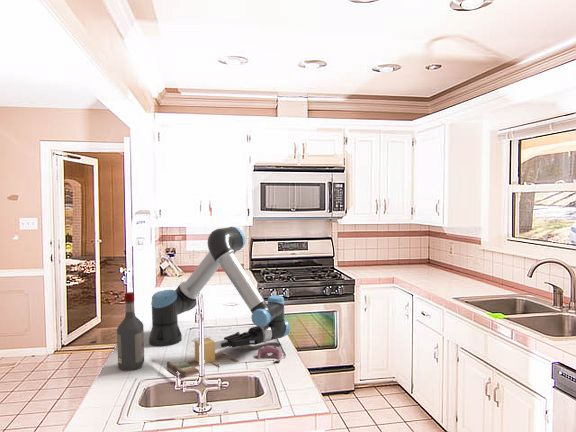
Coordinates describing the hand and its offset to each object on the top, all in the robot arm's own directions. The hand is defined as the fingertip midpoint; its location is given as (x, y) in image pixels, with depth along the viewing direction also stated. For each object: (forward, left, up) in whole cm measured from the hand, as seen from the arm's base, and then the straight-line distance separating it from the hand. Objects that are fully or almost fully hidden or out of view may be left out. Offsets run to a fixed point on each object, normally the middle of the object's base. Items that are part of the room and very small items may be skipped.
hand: (213, 346), depth 182 cm
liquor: (-19, -27, -7) cm, 34 cm away
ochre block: (-1, -3, -5) cm, 6 cm away
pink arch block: (+13, +19, -7) cm, 24 cm away
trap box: (+2, -5, -7) cm, 9 cm away
